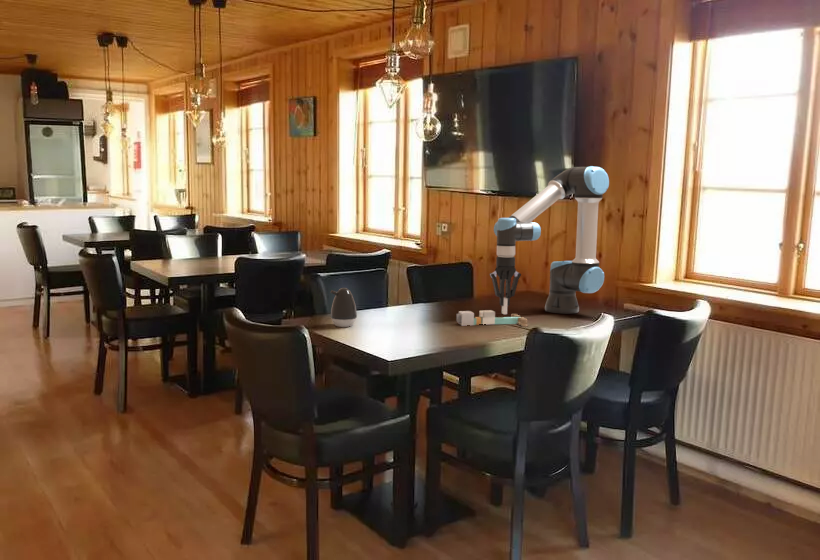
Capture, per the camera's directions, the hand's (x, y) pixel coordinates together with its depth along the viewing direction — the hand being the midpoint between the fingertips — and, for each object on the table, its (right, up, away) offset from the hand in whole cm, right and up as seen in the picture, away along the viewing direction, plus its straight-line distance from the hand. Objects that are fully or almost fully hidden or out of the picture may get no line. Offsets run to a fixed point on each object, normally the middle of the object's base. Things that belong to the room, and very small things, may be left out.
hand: (504, 313), depth 291 cm
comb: (+6, -4, +2) cm, 8 cm away
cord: (-6, -4, -1) cm, 7 cm away
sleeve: (-7, -4, -1) cm, 8 cm away
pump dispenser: (-65, -5, -11) cm, 66 cm away
